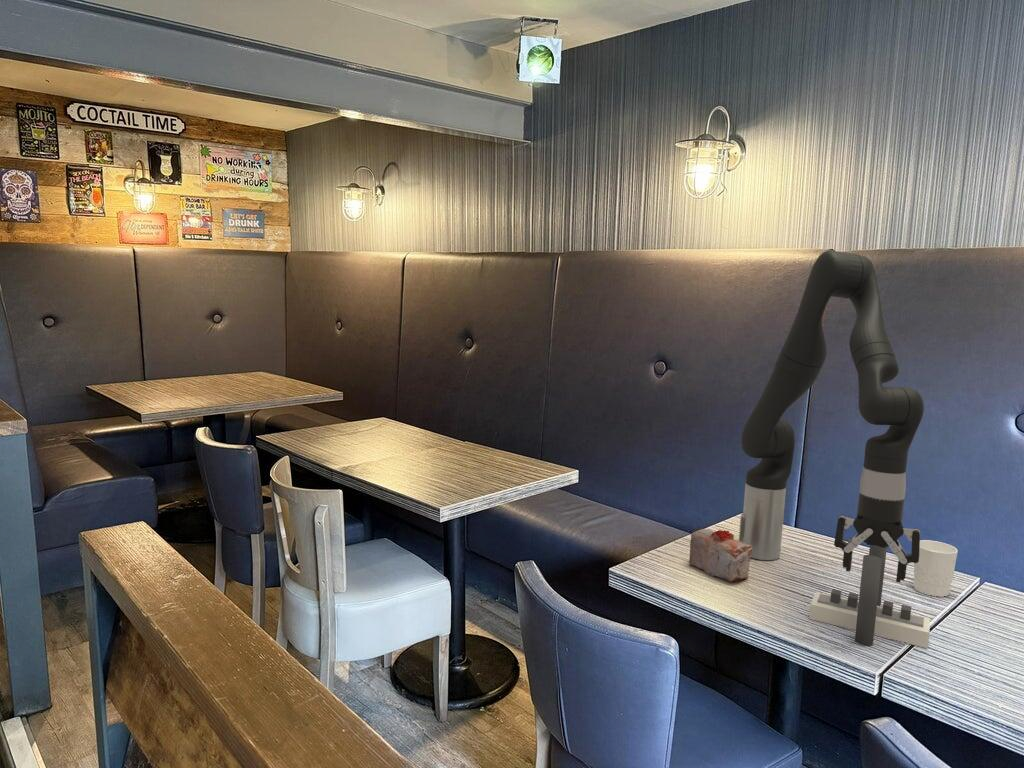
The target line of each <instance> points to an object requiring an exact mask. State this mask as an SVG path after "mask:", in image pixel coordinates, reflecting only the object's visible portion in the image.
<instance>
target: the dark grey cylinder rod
mask: <svg viewBox="0 0 1024 768" xmlns="http://www.w3.org/2000/svg"><path fill="white" fill-rule="evenodd" d="M868 550H869V551H868V555H874V556H877V557H880V558H881V559H882V564H881V574H880V583H879V592H878V602H877V606H880V607H882V606H881V604H882V599H883V598H882V597H883V587H884V578H885V569H886V560H887V559H886V558H887V550H888V547H885V548H882V547H879V546H877V545H869V549H868Z"/></svg>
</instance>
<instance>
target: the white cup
mask: <svg viewBox="0 0 1024 768" xmlns="http://www.w3.org/2000/svg"><path fill="white" fill-rule="evenodd" d="M958 553H959V552H958V549H957V548H956V547H955V546H953V545H951V544H948V543H945V542H942V541H936V540H931V539H930V540H929V539H927V540H926V539H922V540H921V539H920V550H919V562H918V563H913V588H914V590H916V591H917V592H919V593H921V594H923V593H924V595H926V594H927V596H930V595H932V596H931V597H936V596H939V597H940V598H944V596H945V597H948V596H949V594H950V593H951V587H952V583H953V578H954V574H955V569H956V563H957V562H956V561H957V557H958ZM939 597H938V598H939Z"/></svg>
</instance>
